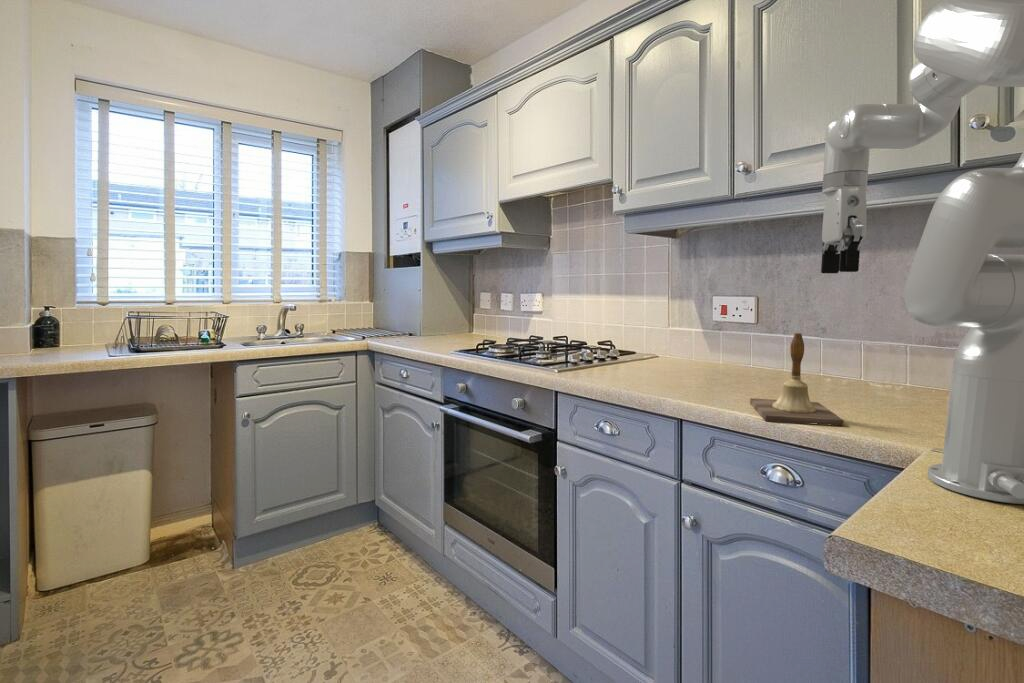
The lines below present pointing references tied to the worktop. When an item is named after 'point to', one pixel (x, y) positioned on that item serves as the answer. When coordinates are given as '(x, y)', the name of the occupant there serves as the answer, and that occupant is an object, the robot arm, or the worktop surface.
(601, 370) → the worktop surface
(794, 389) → the hand bell
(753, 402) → the walnut board
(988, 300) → the robot arm
